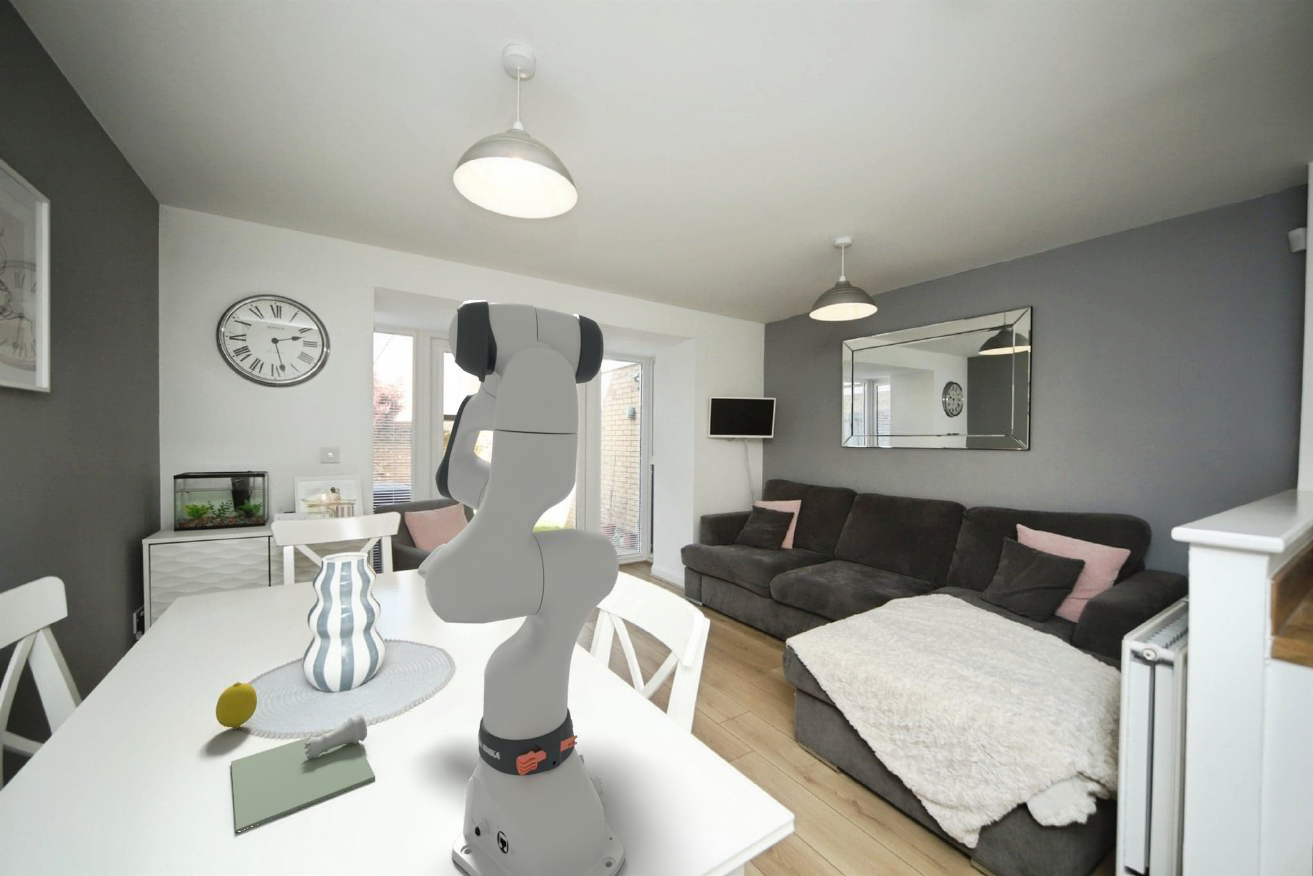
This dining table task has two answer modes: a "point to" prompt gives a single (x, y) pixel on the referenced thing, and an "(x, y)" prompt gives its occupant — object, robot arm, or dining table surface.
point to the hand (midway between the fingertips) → (435, 605)
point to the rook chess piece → (338, 736)
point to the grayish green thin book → (293, 779)
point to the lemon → (236, 705)
